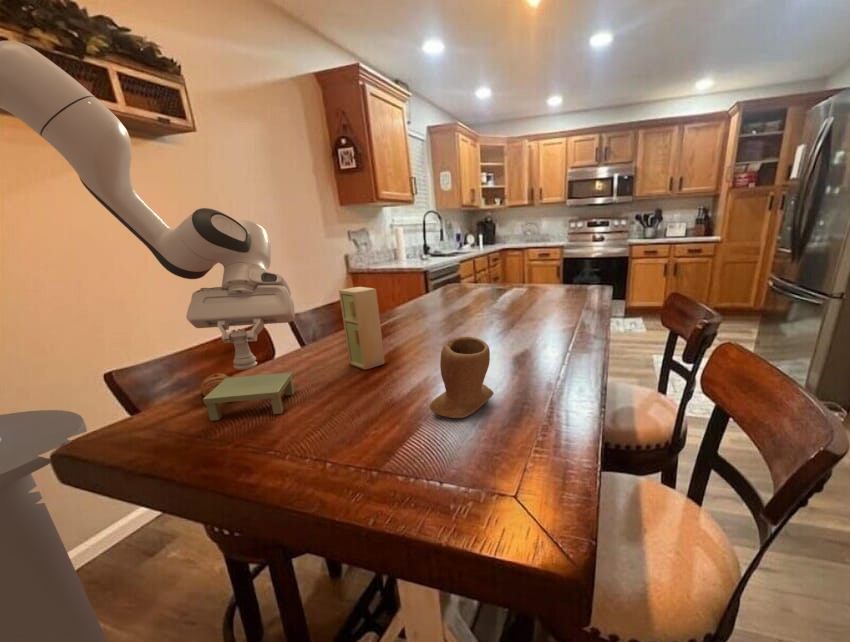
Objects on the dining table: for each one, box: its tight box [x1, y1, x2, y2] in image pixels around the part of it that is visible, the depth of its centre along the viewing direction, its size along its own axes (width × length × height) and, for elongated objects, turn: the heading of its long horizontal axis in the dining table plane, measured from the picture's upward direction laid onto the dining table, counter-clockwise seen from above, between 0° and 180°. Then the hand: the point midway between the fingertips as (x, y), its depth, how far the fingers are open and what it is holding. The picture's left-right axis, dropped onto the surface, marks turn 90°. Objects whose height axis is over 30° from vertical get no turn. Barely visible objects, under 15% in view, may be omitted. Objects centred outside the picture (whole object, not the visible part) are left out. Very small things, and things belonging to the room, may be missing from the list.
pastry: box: [199, 373, 230, 398], centre depth 95 cm, size 9×7×4 cm
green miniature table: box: [202, 371, 295, 422], centre depth 88 cm, size 14×12×5 cm
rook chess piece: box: [230, 328, 258, 371], centre depth 84 cm, size 4×4×8 cm
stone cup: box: [428, 336, 494, 419], centre depth 83 cm, size 15×12×15 cm
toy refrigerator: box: [338, 286, 386, 371], centre depth 109 cm, size 8×7×21 cm
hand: (239, 340), depth 83 cm, fingers closed on rook chess piece, 3 cm apart
